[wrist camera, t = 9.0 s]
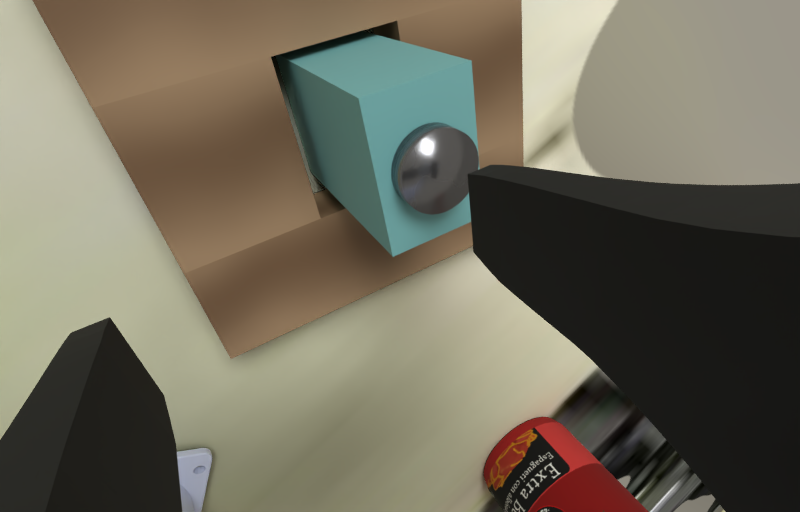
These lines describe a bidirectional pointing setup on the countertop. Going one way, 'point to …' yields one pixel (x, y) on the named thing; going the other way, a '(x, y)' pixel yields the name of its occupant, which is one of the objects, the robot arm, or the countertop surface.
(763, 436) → the robot arm
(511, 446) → the canned food
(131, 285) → the countertop surface
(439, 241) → the slot plate
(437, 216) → the post
